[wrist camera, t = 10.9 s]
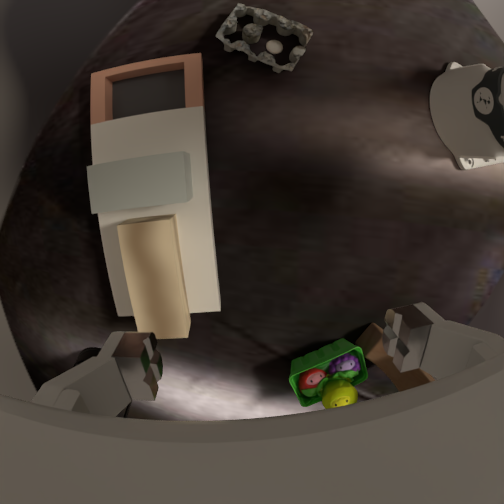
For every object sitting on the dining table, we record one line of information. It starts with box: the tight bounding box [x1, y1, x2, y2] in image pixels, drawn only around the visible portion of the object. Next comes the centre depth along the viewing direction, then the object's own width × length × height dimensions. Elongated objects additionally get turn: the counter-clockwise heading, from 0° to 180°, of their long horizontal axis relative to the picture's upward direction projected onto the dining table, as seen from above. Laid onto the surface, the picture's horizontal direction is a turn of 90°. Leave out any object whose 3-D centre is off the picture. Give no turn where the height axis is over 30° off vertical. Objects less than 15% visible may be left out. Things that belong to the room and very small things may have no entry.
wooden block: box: [355, 323, 435, 392], centre depth 36 cm, size 9×4×18 cm, turn 54°
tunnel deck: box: [87, 53, 221, 316], centre depth 31 cm, size 14×32×8 cm, turn 4°
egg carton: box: [216, 4, 313, 73], centre depth 30 cm, size 11×8×4 cm
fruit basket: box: [289, 338, 368, 409], centre depth 40 cm, size 11×9×11 cm
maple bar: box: [117, 214, 191, 339], centre depth 33 cm, size 6×14×4 cm, turn 4°
